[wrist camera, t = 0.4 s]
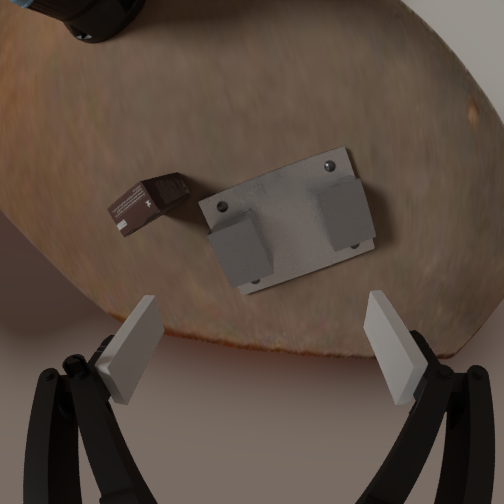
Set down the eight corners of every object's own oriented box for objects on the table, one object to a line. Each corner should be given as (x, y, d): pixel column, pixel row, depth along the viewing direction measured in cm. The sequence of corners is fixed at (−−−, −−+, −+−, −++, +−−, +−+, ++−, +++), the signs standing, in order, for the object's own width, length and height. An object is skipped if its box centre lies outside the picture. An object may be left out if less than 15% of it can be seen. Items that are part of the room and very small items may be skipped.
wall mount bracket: (200, 200, 39) (188, 209, 34) (342, 146, 35) (355, 145, 29) (242, 291, 44) (238, 312, 38) (372, 245, 40) (386, 261, 34)
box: (176, 169, 38) (140, 179, 27) (192, 195, 39) (162, 214, 28) (146, 191, 39) (104, 209, 28) (161, 215, 40) (125, 241, 29)
